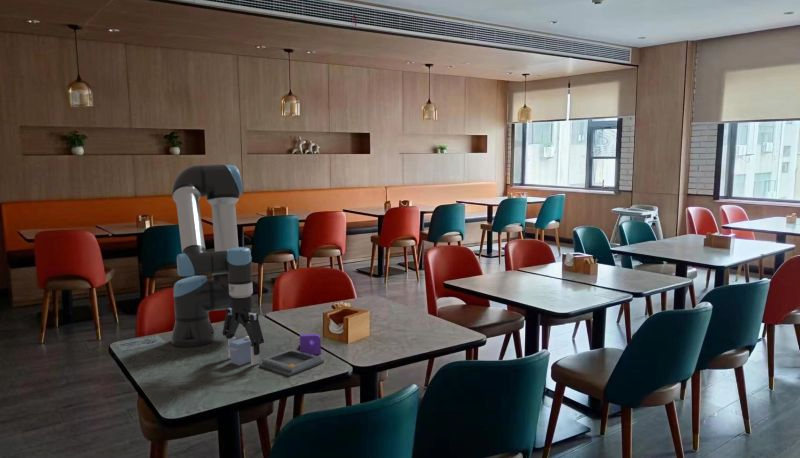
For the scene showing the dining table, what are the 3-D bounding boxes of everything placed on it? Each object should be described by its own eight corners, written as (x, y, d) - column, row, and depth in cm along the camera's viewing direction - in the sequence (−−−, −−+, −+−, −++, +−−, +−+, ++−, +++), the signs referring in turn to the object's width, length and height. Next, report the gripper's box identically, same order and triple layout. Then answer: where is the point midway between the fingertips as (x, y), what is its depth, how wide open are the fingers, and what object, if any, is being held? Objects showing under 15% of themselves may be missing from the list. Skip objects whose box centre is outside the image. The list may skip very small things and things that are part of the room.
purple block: (321, 354, 205) (320, 335, 204) (300, 356, 204) (299, 336, 203) (320, 344, 216) (319, 325, 216) (300, 345, 215) (300, 326, 215)
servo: (226, 364, 196) (225, 340, 195) (251, 355, 204) (250, 333, 203) (235, 366, 193) (234, 343, 192) (260, 358, 201) (259, 335, 200)
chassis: (259, 366, 193) (259, 358, 192) (294, 354, 204) (294, 346, 204) (289, 376, 184) (288, 367, 184) (323, 362, 196) (323, 354, 196)
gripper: (209, 292, 200) (212, 356, 202) (254, 302, 185) (257, 371, 188) (228, 288, 206) (231, 350, 208) (273, 297, 191) (276, 364, 194)
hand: (243, 360), depth 198 cm, fingers open, 11 cm apart
